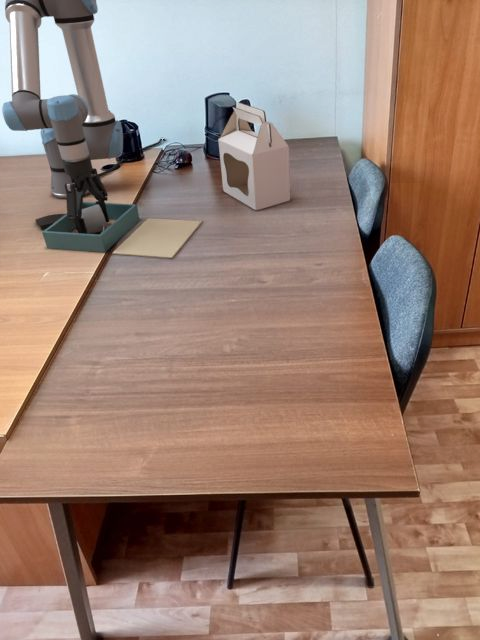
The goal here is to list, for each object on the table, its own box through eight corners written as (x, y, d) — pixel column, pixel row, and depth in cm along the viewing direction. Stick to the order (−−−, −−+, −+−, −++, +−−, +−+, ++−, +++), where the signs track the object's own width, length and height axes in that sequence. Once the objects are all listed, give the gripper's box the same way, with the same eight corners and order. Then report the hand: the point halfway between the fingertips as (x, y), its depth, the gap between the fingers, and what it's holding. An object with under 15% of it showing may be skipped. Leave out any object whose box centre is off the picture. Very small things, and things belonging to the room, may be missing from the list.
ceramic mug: (76, 230, 163) (70, 207, 158) (103, 224, 165) (97, 200, 161) (85, 244, 155) (78, 219, 150) (112, 237, 158) (106, 212, 153)
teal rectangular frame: (86, 216, 171) (82, 201, 168) (139, 219, 167) (136, 204, 164) (47, 248, 154) (41, 232, 151) (105, 252, 150) (101, 236, 147)
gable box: (222, 191, 183) (214, 104, 166) (255, 182, 188) (250, 97, 171) (256, 211, 167) (250, 117, 151) (290, 201, 173) (288, 109, 156)
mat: (148, 219, 167) (147, 218, 167) (201, 222, 163) (201, 221, 163) (112, 254, 149) (112, 252, 148) (172, 258, 144) (171, 257, 144)
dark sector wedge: (84, 220, 169) (82, 215, 168) (40, 231, 164) (39, 226, 163) (77, 211, 175) (76, 207, 174) (35, 222, 170) (33, 217, 169)
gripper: (85, 144, 157) (102, 213, 170) (39, 172, 139) (62, 247, 152) (108, 144, 155) (124, 214, 168) (64, 173, 137) (85, 249, 150)
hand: (95, 230), depth 160 cm, fingers open, 12 cm apart
